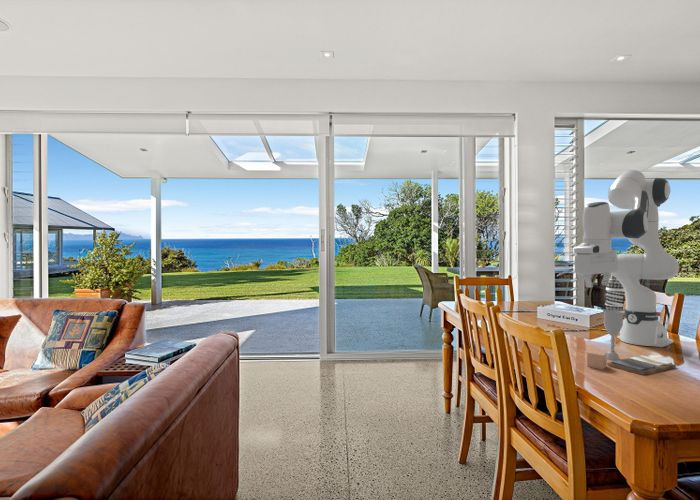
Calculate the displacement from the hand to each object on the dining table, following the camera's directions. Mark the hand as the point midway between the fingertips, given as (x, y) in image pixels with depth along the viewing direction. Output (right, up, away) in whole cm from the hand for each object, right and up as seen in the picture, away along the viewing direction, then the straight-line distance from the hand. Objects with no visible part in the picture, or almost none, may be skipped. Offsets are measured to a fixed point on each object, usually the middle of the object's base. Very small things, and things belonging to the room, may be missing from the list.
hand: (597, 286), depth 152 cm
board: (+16, -29, 0) cm, 33 cm away
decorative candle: (+47, -27, +66) cm, 86 cm away
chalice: (+12, -29, +10) cm, 32 cm away
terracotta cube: (0, -29, 0) cm, 29 cm away
